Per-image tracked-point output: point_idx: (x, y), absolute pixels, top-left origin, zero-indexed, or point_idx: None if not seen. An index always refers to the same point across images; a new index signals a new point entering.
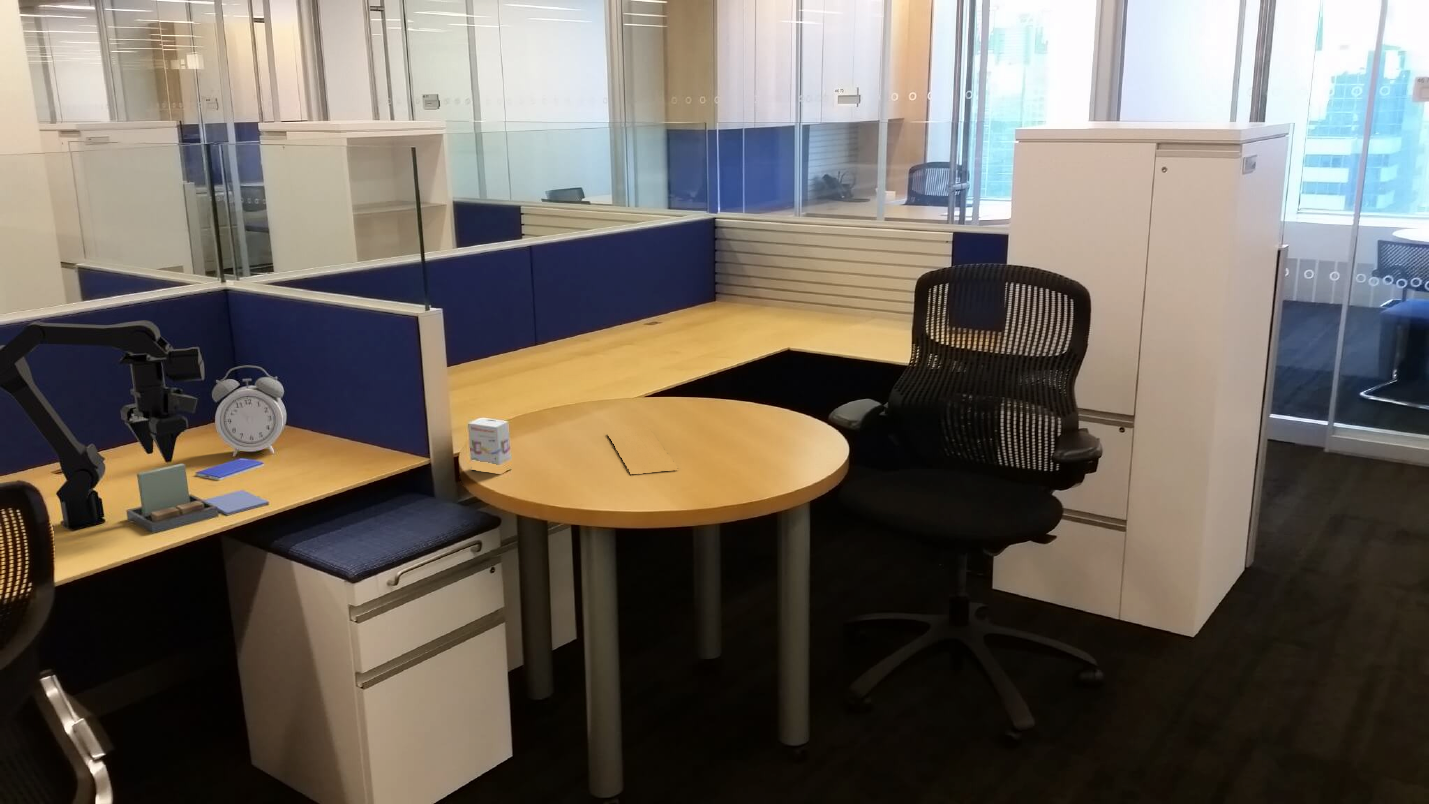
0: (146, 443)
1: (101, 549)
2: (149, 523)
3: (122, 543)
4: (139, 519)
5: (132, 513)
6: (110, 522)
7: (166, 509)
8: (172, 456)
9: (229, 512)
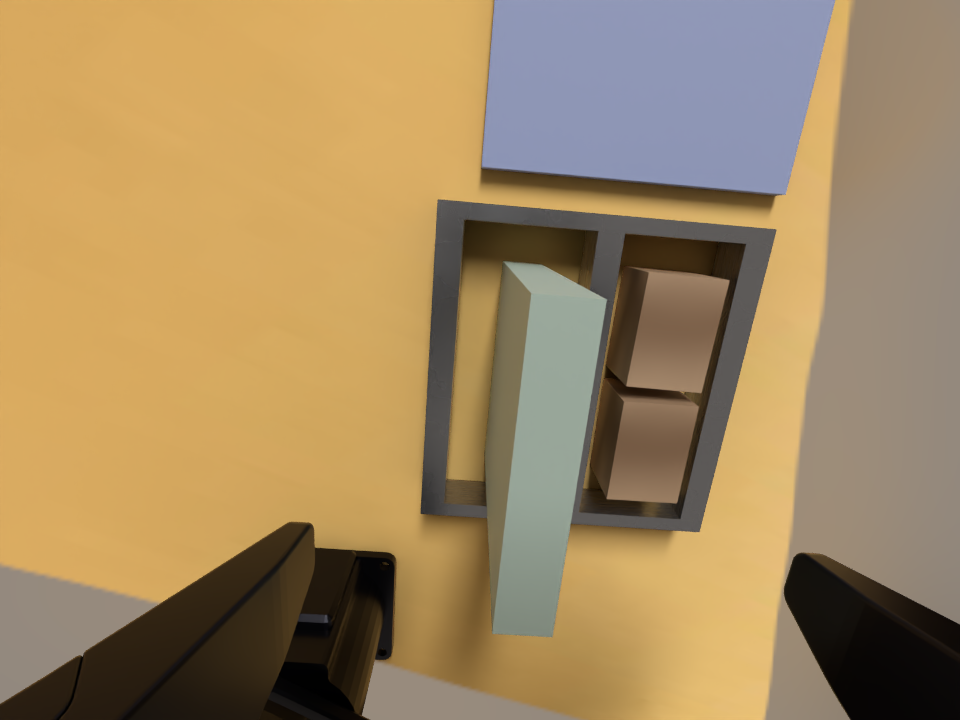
0: (253, 686)
1: (661, 661)
2: (677, 529)
3: (672, 604)
4: None
5: None
6: (404, 539)
7: (634, 439)
8: (887, 591)
9: (786, 180)
